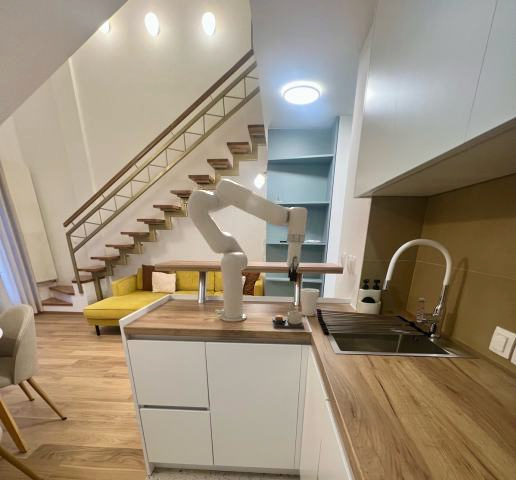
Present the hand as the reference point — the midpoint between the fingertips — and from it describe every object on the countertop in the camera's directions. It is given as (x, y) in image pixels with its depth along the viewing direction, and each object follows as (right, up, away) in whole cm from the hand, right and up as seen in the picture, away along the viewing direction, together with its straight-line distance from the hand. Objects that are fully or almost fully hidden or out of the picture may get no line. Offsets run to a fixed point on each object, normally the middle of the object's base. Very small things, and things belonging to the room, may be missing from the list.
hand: (292, 279), depth 126 cm
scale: (-1, -20, +6) cm, 21 cm away
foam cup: (+11, -13, +23) cm, 29 cm away
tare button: (-5, -18, +5) cm, 19 cm away
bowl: (+2, -19, +5) cm, 20 cm away
